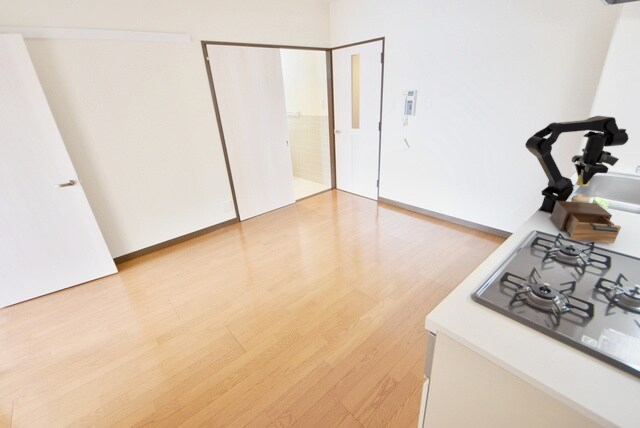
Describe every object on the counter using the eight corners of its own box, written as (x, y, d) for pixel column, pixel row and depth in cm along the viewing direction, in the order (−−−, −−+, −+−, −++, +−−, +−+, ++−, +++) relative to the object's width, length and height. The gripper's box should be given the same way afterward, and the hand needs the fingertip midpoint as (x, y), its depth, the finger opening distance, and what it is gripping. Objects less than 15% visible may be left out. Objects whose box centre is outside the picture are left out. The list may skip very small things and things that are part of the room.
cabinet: (603, 235, 108) (612, 215, 104) (560, 230, 112) (567, 211, 109) (589, 222, 117) (596, 203, 114) (550, 218, 122) (556, 200, 118)
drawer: (621, 250, 97) (631, 230, 93) (576, 245, 101) (584, 225, 97) (599, 230, 109) (607, 211, 106) (560, 226, 114) (567, 208, 110)
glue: (574, 185, 125) (578, 173, 122) (577, 182, 127) (581, 171, 124) (586, 186, 122) (590, 174, 119) (589, 184, 124) (593, 172, 122)
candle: (568, 218, 122) (576, 196, 117) (564, 212, 126) (571, 192, 122) (584, 219, 120) (593, 198, 115) (579, 214, 124) (587, 193, 120)
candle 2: (605, 218, 120) (613, 200, 116) (597, 220, 119) (604, 202, 115) (593, 213, 124) (599, 196, 121) (584, 215, 123) (591, 198, 120)
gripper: (632, 152, 107) (617, 191, 113) (608, 142, 122) (596, 176, 129) (594, 152, 111) (582, 189, 117) (576, 142, 126) (566, 175, 133)
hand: (582, 182), depth 124 cm, fingers closed on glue, 4 cm apart
